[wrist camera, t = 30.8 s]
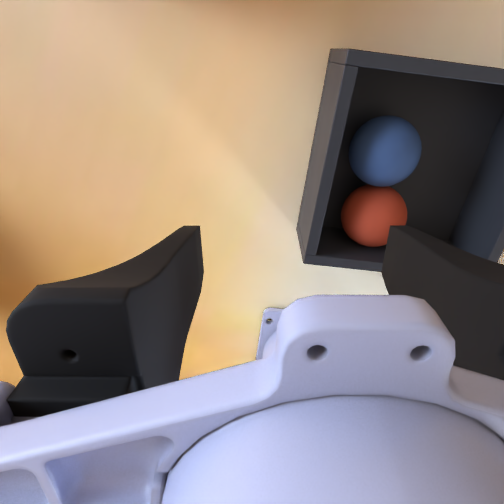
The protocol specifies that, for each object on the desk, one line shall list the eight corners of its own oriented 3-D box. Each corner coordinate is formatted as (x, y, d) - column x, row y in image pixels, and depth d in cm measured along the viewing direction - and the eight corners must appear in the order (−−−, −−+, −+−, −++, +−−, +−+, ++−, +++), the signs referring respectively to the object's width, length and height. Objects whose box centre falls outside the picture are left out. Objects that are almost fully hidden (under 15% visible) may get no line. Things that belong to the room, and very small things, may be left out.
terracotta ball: (408, 226, 23) (371, 267, 22) (361, 192, 24) (324, 229, 23) (430, 198, 19) (387, 245, 19) (375, 159, 20) (332, 202, 20)
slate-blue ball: (363, 207, 19) (400, 157, 16) (325, 160, 21) (353, 105, 18) (410, 191, 21) (451, 142, 18) (372, 148, 22) (404, 95, 19)
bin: (451, 246, 24) (487, 283, 21) (296, 229, 24) (303, 264, 20) (524, 73, 19) (590, 80, 16) (330, 48, 19) (348, 48, 15)
